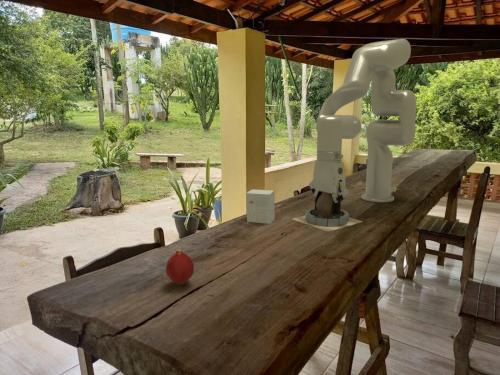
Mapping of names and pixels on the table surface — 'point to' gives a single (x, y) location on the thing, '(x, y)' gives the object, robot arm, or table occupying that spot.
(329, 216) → the vase
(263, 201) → the small box
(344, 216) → the ring collar
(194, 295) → the table surface
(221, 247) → the table surface
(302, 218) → the birch board
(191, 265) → the onion
